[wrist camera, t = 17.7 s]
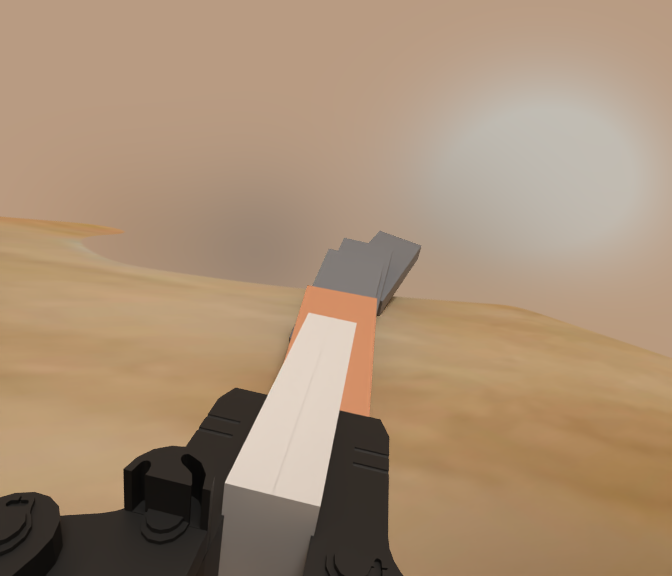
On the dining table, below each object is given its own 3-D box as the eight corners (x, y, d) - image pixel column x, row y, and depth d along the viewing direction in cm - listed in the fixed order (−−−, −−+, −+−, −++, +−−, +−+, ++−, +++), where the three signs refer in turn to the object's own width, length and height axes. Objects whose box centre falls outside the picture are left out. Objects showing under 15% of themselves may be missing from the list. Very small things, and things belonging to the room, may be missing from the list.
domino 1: (357, 372, 28) (381, 276, 36) (361, 355, 27) (384, 260, 35) (288, 354, 28) (327, 264, 37) (289, 337, 27) (328, 248, 35)
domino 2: (361, 455, 20) (372, 317, 29) (367, 435, 19) (377, 298, 28) (265, 437, 21) (305, 304, 29) (266, 416, 20) (307, 285, 28)
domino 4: (379, 315, 37) (417, 259, 45) (382, 301, 36) (421, 245, 44) (332, 295, 39) (377, 244, 47) (333, 281, 38) (379, 230, 45)
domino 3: (369, 340, 32) (389, 263, 41) (373, 325, 31) (393, 248, 39) (310, 325, 33) (342, 252, 41) (311, 310, 32) (344, 237, 40)
